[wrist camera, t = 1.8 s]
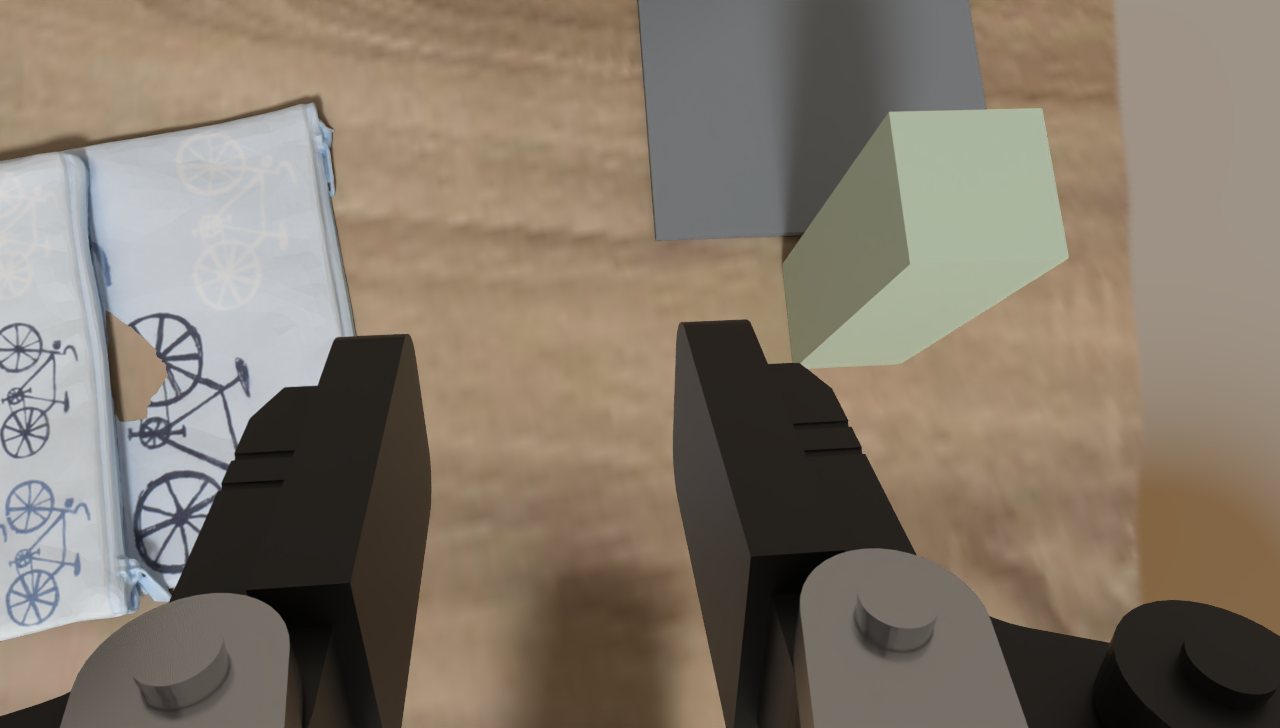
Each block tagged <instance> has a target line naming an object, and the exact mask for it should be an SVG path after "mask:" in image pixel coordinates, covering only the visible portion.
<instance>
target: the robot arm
mask: <svg viewBox="0 0 1280 728" xmlns="http://www.w3.org/2000/svg"><path fill="white" fill-rule="evenodd" d="M861 449H862V447H861V445H860V443H859V441H858V439H857V437H856V435H855V433H854V431H853V429H852V427H849V426H848V419H847V417H846V415H845V413H844V411H843V409H842V407H841V405H840V403H839V401H838V399H837V398H836V396H835V394H834V392H833V390H832V388H830V387H829V386H828V385H827V384H825V383H824V382H823V381H822V380H820V379H819V378H818V377H817V376H815V375H814V374H813V373H812V372H810V371H809V370H808V369H807V368H805V367H804V366H803V365H802V364H800V363H782V364H768V363H767V361H766V359H765V356H764V354H763V351H762V349H761V347H760V344H759V342H758V339H757V337H756V335H755V332H754V330H753V327H752V325H751V323H750V322H749V320H724V321H701V322H681V323H680V324H679V326H678V331H677V340H676V366H675V395H674V424H673V463H674V476H675V485H676V492H677V497H678V502H679V507H680V512H681V516H682V521H683V526H684V531H685V535H686V540H687V545H688V550H689V554H690V559H691V564H692V568H693V573H694V578H695V583H696V587H697V592H698V597H699V602H700V606H701V611H702V616H703V620H704V625H705V630H706V635H707V639H708V644H709V649H710V654H711V658H712V663H713V668H714V672H715V677H716V682H717V687H718V691H719V696H720V701H721V705H722V710H723V715H724V720H725V724H726V728H1280V636H1278V635H1277V634H1275V633H1273V632H1272V631H1270V630H1268V629H1267V628H1265V627H1263V626H1262V625H1260V624H1257V623H1255V622H1254V621H1252V620H1249V619H1248V618H1245V617H1243V616H1241V615H1238V614H1236V613H1233V612H1230V611H1228V610H1225V609H1222V608H1218V607H1215V606H1211V605H1208V604H1202V603H1197V602H1191V601H1179V600H1167V601H1156V602H1152V603H1148V604H1143V605H1141V606H1139V607H1137V608H1135V609H1133V610H1131V611H1130V612H1129V613H1128V614H1126V615H1125V616H1124V617H1123V618H1122V620H1121V621H1120V622H1119V624H1118V625H1117V627H1116V630H1115V632H1114V635H1113V637H1112V640H1111V642H1110V643H1108V642H1102V641H1097V640H1091V639H1086V638H1080V637H1075V636H1070V635H1064V634H1059V633H1053V632H1048V631H1042V630H1037V629H1032V628H1027V627H1022V626H1018V625H1014V624H1010V623H1007V622H1004V621H1001V620H998V619H995V618H992V617H990V616H989V615H988V613H987V611H986V608H985V606H984V605H983V604H982V602H981V601H980V599H979V598H978V596H977V595H976V594H975V593H974V592H973V591H972V590H971V589H970V587H969V586H968V585H967V584H966V583H964V582H963V581H962V580H961V579H959V578H958V577H957V576H956V575H954V574H953V573H951V572H950V571H948V570H947V569H945V568H943V567H942V566H940V565H938V564H936V563H934V562H932V561H929V560H927V559H925V558H922V557H919V556H917V555H916V553H915V551H914V549H913V547H912V545H911V543H910V541H909V539H908V538H907V536H906V534H905V532H904V530H903V528H902V526H901V524H900V522H899V520H898V518H897V516H896V514H895V512H894V510H893V508H892V506H891V504H890V502H889V500H888V498H887V496H886V494H885V492H884V490H883V488H882V486H881V484H880V482H879V480H878V478H877V476H876V474H875V472H874V470H873V468H872V467H871V465H870V463H869V461H868V459H867V457H866V455H865V454H862V450H861ZM234 455H235V460H234V461H231V462H230V464H229V467H228V469H227V471H226V473H225V476H224V478H223V480H222V483H221V485H222V489H221V491H218V492H217V494H216V496H215V498H214V501H213V503H212V505H211V508H210V510H209V512H208V514H207V517H206V519H205V521H204V523H203V526H202V528H201V530H200V533H199V535H198V537H197V539H196V542H195V544H194V546H193V548H192V551H191V553H190V555H189V558H188V560H187V562H186V564H185V567H184V569H183V571H182V573H181V576H180V578H179V580H178V583H177V585H176V587H175V589H174V592H173V594H172V596H171V598H170V601H169V603H167V604H164V605H161V606H159V607H157V608H155V609H152V610H150V611H148V612H146V613H144V614H142V615H140V616H139V617H137V618H135V619H133V620H132V621H130V622H128V623H127V624H125V625H124V626H123V627H121V628H120V629H119V630H117V631H116V632H115V633H113V634H112V635H111V636H110V637H109V638H107V639H106V640H105V641H104V642H103V643H102V644H101V645H100V646H99V647H98V648H97V649H96V650H95V651H94V653H93V654H92V655H91V656H90V657H89V658H88V660H87V661H86V662H85V664H84V666H83V667H82V669H81V670H80V672H79V673H78V675H77V678H76V680H75V682H74V685H73V687H72V690H71V692H69V693H67V694H65V695H62V696H60V697H57V698H54V699H52V700H49V701H46V702H44V703H41V704H38V705H35V706H32V707H29V708H25V709H22V710H19V711H16V712H13V713H10V714H7V715H3V716H0V728H401V726H402V718H403V711H404V704H405V696H406V689H407V681H408V674H409V666H410V659H411V651H412V644H413V636H414V629H415V622H416V614H417V607H418V599H419V592H420V584H421V577H422V569H423V562H424V554H425V547H426V540H427V532H428V525H429V517H430V509H431V465H430V454H429V447H428V440H427V433H426V426H425V419H424V412H423V405H422V398H421V391H420V384H419V377H418V370H417V363H416V356H415V350H414V345H413V342H412V339H411V336H410V335H409V334H394V335H371V336H349V337H336V338H335V339H334V341H333V343H332V346H331V349H330V351H329V354H328V357H327V360H326V363H325V366H324V369H323V371H322V374H321V377H320V380H319V383H318V386H298V387H284V388H283V389H282V390H281V391H280V392H278V393H277V394H276V395H275V396H274V397H273V398H272V399H271V400H269V401H268V402H267V403H266V404H265V405H264V406H263V407H262V408H261V409H259V410H258V411H257V412H256V413H255V414H254V415H253V416H252V417H251V418H250V419H249V421H248V423H247V426H246V428H245V430H244V433H243V435H242V437H241V439H240V442H239V444H238V446H237V448H236V451H235V453H234Z"/></svg>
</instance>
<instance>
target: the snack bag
mask: <svg viewBox="0 0 1280 728" xmlns="http://www.w3.org/2000/svg"><path fill="white" fill-rule="evenodd" d="M332 132H334V130H333V129H330V128H328V127H326V126H325V124H324V123H323V122H322V121H321V120H320V119H319V118H318V113H317V108H316V105H315V103H314V102H310V103H308V104H302V103H301V104H298V105H294V106H291V107H288V108H284V109H281V110H278V111H273V112H269V113H265V114H260V115H256V116H251V117H247V118H243V119H238V120H234V121H229V122H225V123H220V124H215V125H210V126H204V127H197V128H192V129H186V130H181V131H175V132H169V133H164V134H158V135H153V136H146V137H140V138H134V139H128V140H122V141H115V142H108V143H102V144H96V145H91V146H86V147H81V148H75V149H69V150H64V151H59V152H50V153H42V154H35V155H32V156H26V157H20V158H15V159H9V160H3V161H0V641H3V640H7V639H11V638H15V637H19V636H22V635H27V634H31V633H35V632H39V631H43V630H46V629H50V628H53V627H57V626H62V625H66V624H69V623H73V622H78V621H85V620H93V619H102V618H112V617H118V616H122V615H125V614H133V613H135V612H137V610H138V608H139V604H140V600H139V596H141V595H146V594H149V595H150V596H151V597H152V598H153V600H154V601H161V602H169V601H170V598H171V596H172V595H171V594H170V593H169V589H171V588H174V587H176V585H177V583H178V580H179V578H180V576H181V573H182V571H183V569H184V567H185V564H186V562H187V560H188V558H189V555H190V553H191V551H192V548H193V546H194V544H195V542H196V539H197V537H198V535H199V533H200V530H201V528H202V526H203V523H204V521H205V519H206V517H207V514H208V512H209V510H210V508H211V505H212V503H213V501H214V498H215V496H216V494H217V492H218V491H221V489H222V485H221V483H222V480H223V478H224V476H225V473H226V471H227V469H228V467H229V464H230V462H231V461H234V460H235V455H234V453H235V451H236V448H237V446H238V444H239V442H240V439H241V437H242V435H243V433H244V430H245V428H246V426H247V423H248V421H249V419H250V418H251V417H252V416H253V415H254V414H255V413H256V412H257V411H258V410H259V409H261V408H262V407H263V406H264V405H265V404H266V403H267V402H268V401H269V400H271V399H272V398H273V397H274V396H275V395H276V394H277V393H278V392H280V391H281V390H282V389H283V388H284V387H298V386H318V383H319V380H320V377H321V374H322V371H323V369H324V366H325V363H326V360H327V357H328V354H329V351H330V349H331V346H332V343H333V341H334V339H335V338H336V337H349V336H356V334H355V328H354V322H353V315H352V308H351V303H350V297H349V292H348V287H347V282H346V277H345V273H344V267H343V262H342V257H341V251H340V246H339V241H338V235H337V230H336V225H335V220H334V215H333V210H332V204H331V197H332V196H334V195H335V187H334V175H333V170H332V163H331V155H330V148H331V144H332ZM328 183H330V185H331V191H330V190H329V186H328ZM106 311H108V312H110V313H112V314H113V315H115V316H116V317H117V318H118V319H119V320H121V321H122V322H123V323H125V324H127V325H128V326H131V327H132V328H133V329H134V330H135V331H136V332H137V333H138V334H140V335H141V336H142V337H143V338H144V339H145V340H147V341H148V342H149V343H150V344H151V346H152V347H154V348H155V349H156V350H157V352H156V355H157V357H158V358H160V359H162V362H165V364H166V365H167V366H166V370H167V373H168V377H167V378H166V379H165V381H164V382H163V384H162V386H161V387H160V389H159V391H158V392H157V393H156V394H155V395H154V396H153V397H152V398H151V404H150V405H149V406H148V407H147V409H148V416H147V418H145V419H143V420H136V421H128V422H119V419H118V417H117V415H116V411H115V415H114V398H113V395H112V390H111V386H110V373H109V362H108V352H107V348H108V343H109V341H108V336H107V333H106V331H107V327H106Z"/></svg>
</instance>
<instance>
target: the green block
mask: <svg viewBox="0 0 1280 728" xmlns="http://www.w3.org/2000/svg"><path fill="white" fill-rule="evenodd" d="M1068 258H1069V256H1068V250H1067V245H1066V239H1065V234H1064V228H1063V222H1062V217H1061V211H1060V206H1059V200H1058V194H1057V189H1056V183H1055V178H1054V172H1053V167H1052V161H1051V155H1050V150H1049V144H1048V139H1047V133H1046V127H1045V122H1044V116H1043V111H1042V108H1032V109H989V110H946V111H902V112H888V114H887V115H886V117H885V118H884V120H883V121H882V122H881V124H880V125H879V127H878V128H877V130H876V131H875V132H874V134H873V135H872V137H871V138H870V140H869V141H868V142H867V144H866V145H865V147H864V148H863V150H862V151H861V152H860V154H859V155H858V157H857V158H856V160H855V161H854V162H853V164H852V165H851V167H850V168H849V170H848V171H847V173H846V174H845V175H844V177H843V178H842V180H841V181H840V183H839V184H838V185H837V187H836V188H835V190H834V191H833V193H832V194H831V195H830V197H829V198H828V200H827V201H826V203H825V204H824V205H823V207H822V208H821V210H820V211H819V213H818V214H817V215H816V217H815V218H814V220H813V221H812V223H811V224H810V225H809V227H808V228H807V230H806V231H805V233H804V234H803V235H802V237H801V238H800V240H799V241H798V243H797V244H796V245H795V247H794V248H793V250H792V251H791V253H790V254H789V255H788V257H787V258H786V260H785V261H784V263H783V264H782V268H783V278H784V287H785V296H786V306H787V315H788V324H789V334H790V343H791V353H792V362H793V363H800V364H802V365H803V366H804V367H805V368H807V369H813V368H833V367H853V366H873V365H894V364H901V363H903V362H904V361H906V360H908V359H909V358H911V357H912V356H914V355H916V354H917V353H919V352H920V351H922V350H924V349H925V348H927V347H928V346H930V345H931V344H933V343H935V342H936V341H938V340H939V339H941V338H943V337H944V336H946V335H947V334H949V333H951V332H952V331H954V330H955V329H957V328H958V327H960V326H962V325H963V324H965V323H966V322H968V321H970V320H971V319H973V318H974V317H976V316H978V315H979V314H981V313H982V312H984V311H985V310H987V309H989V308H990V307H992V306H993V305H995V304H997V303H998V302H1000V301H1001V300H1003V299H1005V298H1006V297H1008V296H1009V295H1011V294H1013V293H1014V292H1016V291H1017V290H1019V289H1020V288H1022V287H1024V286H1025V285H1027V284H1028V283H1030V282H1032V281H1033V280H1035V279H1036V278H1038V277H1040V276H1041V275H1043V274H1044V273H1046V272H1047V271H1049V270H1051V269H1052V268H1054V267H1055V266H1057V265H1059V264H1060V263H1062V262H1063V261H1065V260H1067V259H1068Z"/></svg>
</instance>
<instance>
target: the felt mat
mask: <svg viewBox="0 0 1280 728" xmlns="http://www.w3.org/2000/svg"><path fill="white" fill-rule="evenodd" d="M637 1H638V15H639V28H640V41H641V55H642V68H643V81H644V95H645V108H646V121H647V135H648V148H649V161H650V175H651V188H652V201H653V215H654V228H655V241H658V240H686V239H714V238H742V237H771V236H799V235H803V234H804V233H805V231H806V230H807V228H808V227H809V225H810V224H811V223H812V221H813V220H814V218H815V217H816V215H817V214H818V213H819V211H820V210H821V208H822V207H823V205H824V204H825V203H826V201H827V200H828V198H829V197H830V195H831V194H832V193H833V191H834V190H835V188H836V187H837V185H838V184H839V183H840V181H841V180H842V178H843V177H844V175H845V174H846V173H847V171H848V170H849V168H850V167H851V165H852V164H853V162H854V161H855V160H856V158H857V157H858V155H859V154H860V152H861V151H862V150H863V148H864V147H865V145H866V144H867V142H868V141H869V140H870V138H871V137H872V135H873V134H874V132H875V131H876V130H877V128H878V127H879V125H880V124H881V122H882V121H883V120H884V118H885V117H886V115H887V114H888V112H902V111H946V110H987V109H986V103H985V97H984V91H983V85H982V79H981V73H980V67H979V61H978V55H977V48H976V42H975V36H974V30H973V24H972V18H971V12H970V6H969V0H637Z"/></svg>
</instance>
